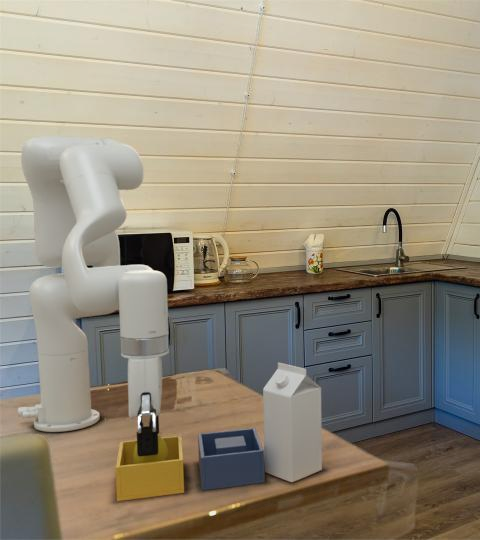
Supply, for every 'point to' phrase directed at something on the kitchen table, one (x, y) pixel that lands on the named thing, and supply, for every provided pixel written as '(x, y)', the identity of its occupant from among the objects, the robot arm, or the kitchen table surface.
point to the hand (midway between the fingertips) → (148, 444)
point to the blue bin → (230, 461)
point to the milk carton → (292, 424)
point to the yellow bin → (149, 472)
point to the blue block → (230, 445)
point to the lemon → (160, 456)
